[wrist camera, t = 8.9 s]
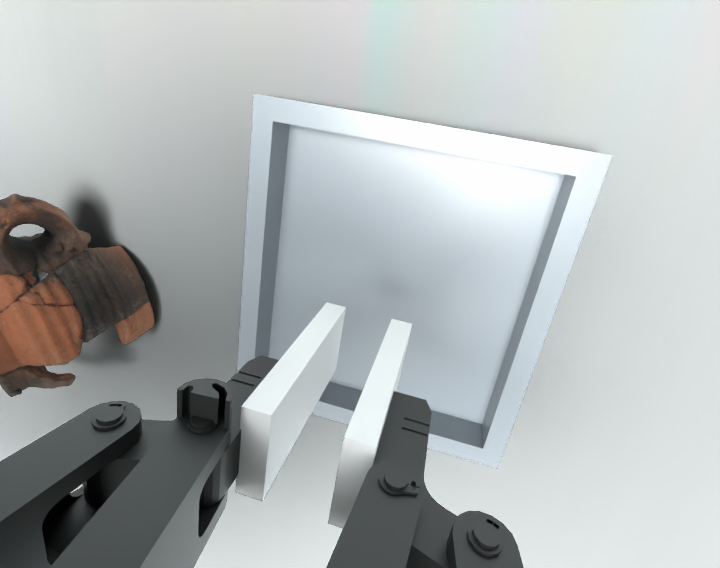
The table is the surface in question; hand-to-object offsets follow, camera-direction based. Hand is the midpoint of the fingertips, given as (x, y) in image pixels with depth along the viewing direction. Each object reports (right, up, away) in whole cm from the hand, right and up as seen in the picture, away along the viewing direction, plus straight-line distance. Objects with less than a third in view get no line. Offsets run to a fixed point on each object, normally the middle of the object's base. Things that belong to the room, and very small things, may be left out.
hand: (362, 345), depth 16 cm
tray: (+2, +2, +7) cm, 7 cm away
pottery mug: (-16, +4, +12) cm, 20 cm away
